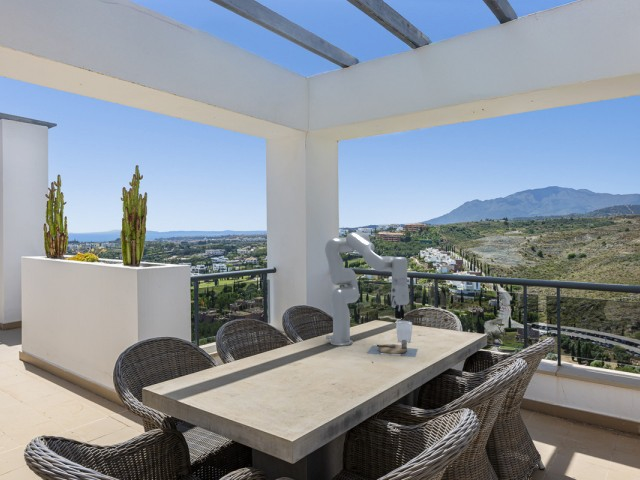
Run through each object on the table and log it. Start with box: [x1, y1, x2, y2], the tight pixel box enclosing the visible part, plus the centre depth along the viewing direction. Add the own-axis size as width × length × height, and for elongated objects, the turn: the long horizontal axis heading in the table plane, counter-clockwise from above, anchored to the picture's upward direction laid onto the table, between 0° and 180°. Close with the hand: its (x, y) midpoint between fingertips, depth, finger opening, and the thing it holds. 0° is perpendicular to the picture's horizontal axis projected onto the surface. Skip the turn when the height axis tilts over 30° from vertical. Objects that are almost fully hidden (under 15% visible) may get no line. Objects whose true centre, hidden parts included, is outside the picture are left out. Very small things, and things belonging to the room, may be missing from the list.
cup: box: [395, 320, 413, 343], centre depth 243 cm, size 9×9×12 cm
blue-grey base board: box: [366, 345, 419, 358], centre depth 220 cm, size 24×17×2 cm
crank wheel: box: [376, 340, 408, 354], centre depth 220 cm, size 15×14×6 cm
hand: (399, 318), depth 215 cm, fingers closed
